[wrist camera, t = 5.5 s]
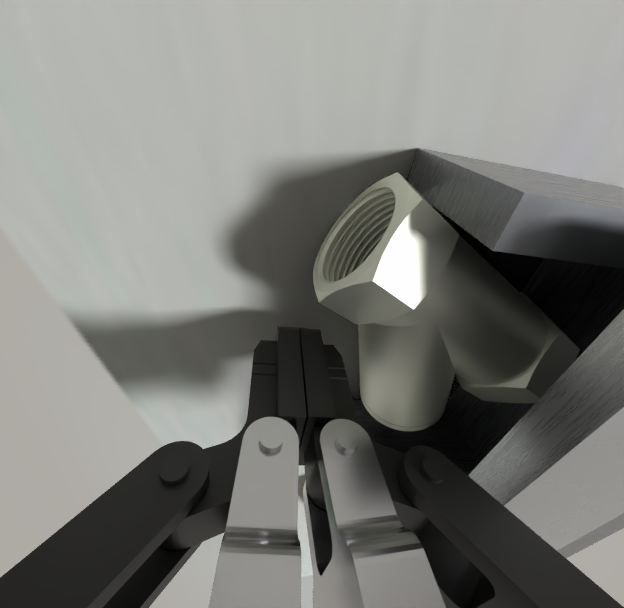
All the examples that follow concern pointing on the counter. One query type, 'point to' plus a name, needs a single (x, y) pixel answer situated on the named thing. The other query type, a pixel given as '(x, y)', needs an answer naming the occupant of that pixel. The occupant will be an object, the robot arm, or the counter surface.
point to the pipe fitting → (430, 311)
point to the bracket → (572, 322)
